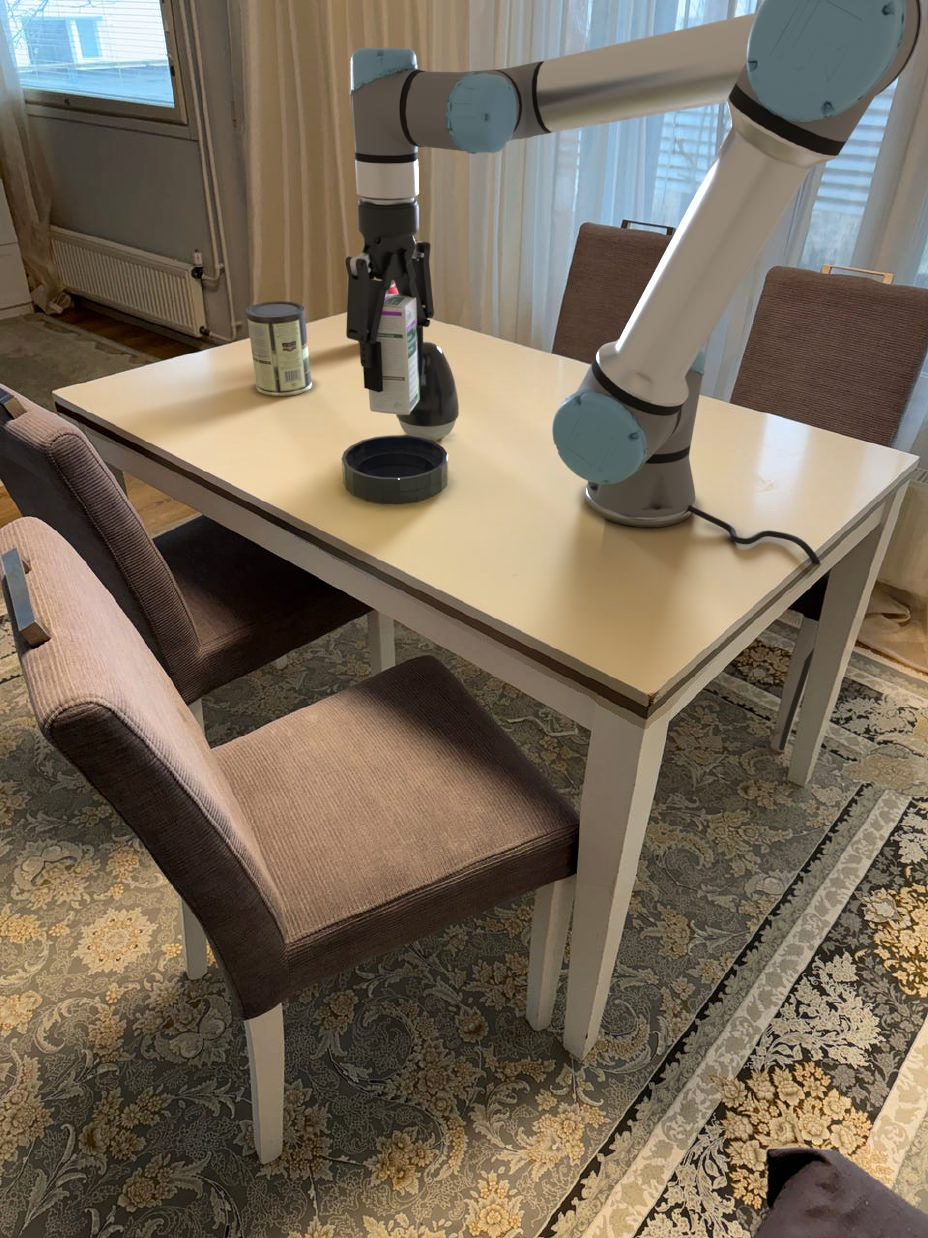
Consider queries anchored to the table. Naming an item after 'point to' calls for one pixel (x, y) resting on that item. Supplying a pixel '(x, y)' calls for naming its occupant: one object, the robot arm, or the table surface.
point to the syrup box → (398, 357)
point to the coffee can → (279, 348)
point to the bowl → (395, 469)
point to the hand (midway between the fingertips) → (393, 380)
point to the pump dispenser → (433, 398)
